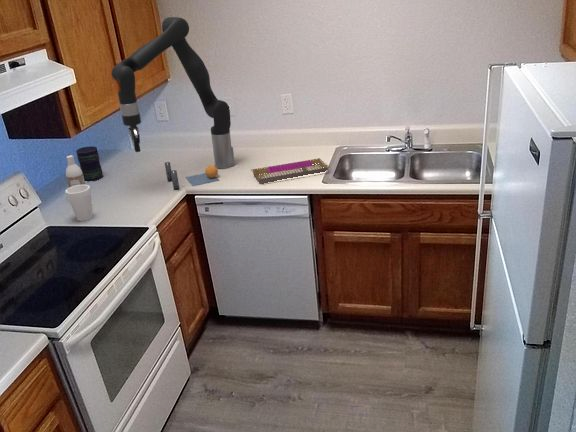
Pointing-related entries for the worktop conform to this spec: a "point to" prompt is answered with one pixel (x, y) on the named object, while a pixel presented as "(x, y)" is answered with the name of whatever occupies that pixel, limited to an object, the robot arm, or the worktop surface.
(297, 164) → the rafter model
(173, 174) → the post
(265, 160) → the worktop surface
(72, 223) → the worktop surface
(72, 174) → the bath foam
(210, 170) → the ball
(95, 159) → the storage jar
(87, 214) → the foam cup
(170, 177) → the post
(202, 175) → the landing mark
